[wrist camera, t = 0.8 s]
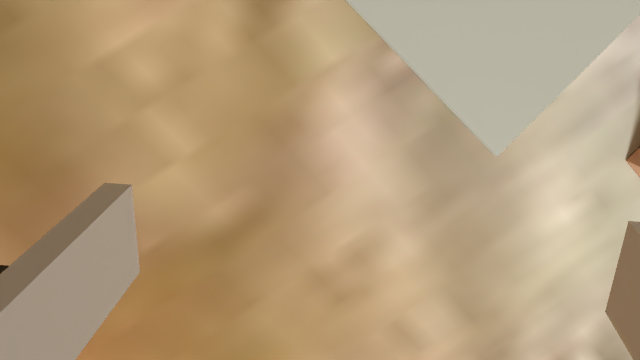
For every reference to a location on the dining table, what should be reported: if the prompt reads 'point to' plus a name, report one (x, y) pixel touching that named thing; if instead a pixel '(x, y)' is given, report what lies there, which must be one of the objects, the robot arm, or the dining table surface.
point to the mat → (498, 52)
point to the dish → (635, 161)
